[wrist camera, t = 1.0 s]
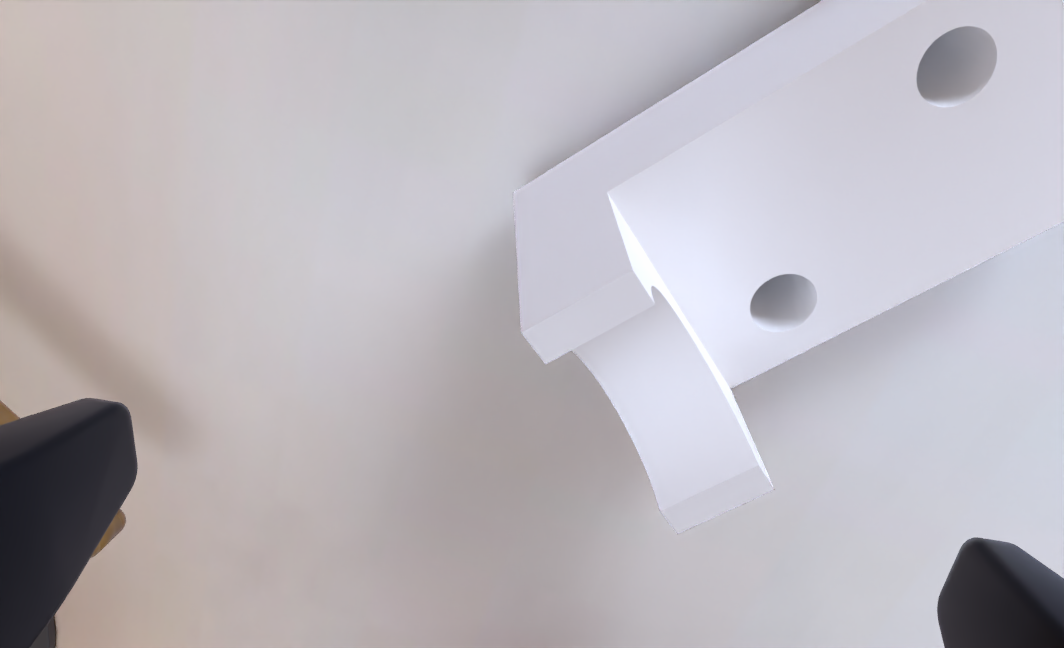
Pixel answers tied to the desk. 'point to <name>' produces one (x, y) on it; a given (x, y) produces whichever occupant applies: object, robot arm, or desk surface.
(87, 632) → the desk surface
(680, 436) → the bracket
